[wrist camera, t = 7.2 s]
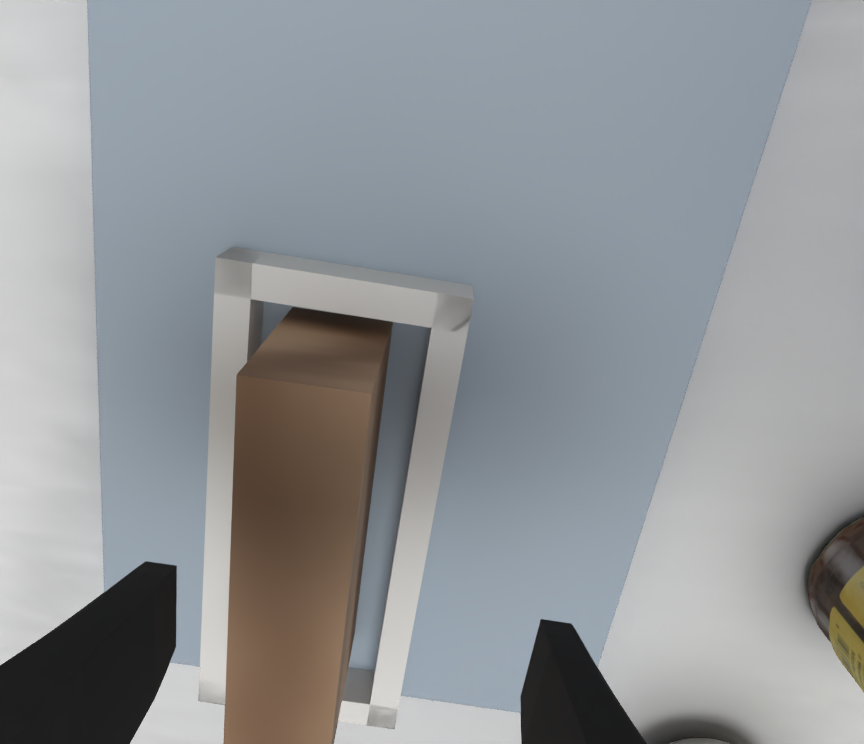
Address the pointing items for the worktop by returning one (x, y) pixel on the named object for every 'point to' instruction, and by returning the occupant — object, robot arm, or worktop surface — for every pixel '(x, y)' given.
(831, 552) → the brown medicine bottle
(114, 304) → the wall board
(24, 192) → the worktop surface
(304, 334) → the wooden block
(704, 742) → the plastic bottle
